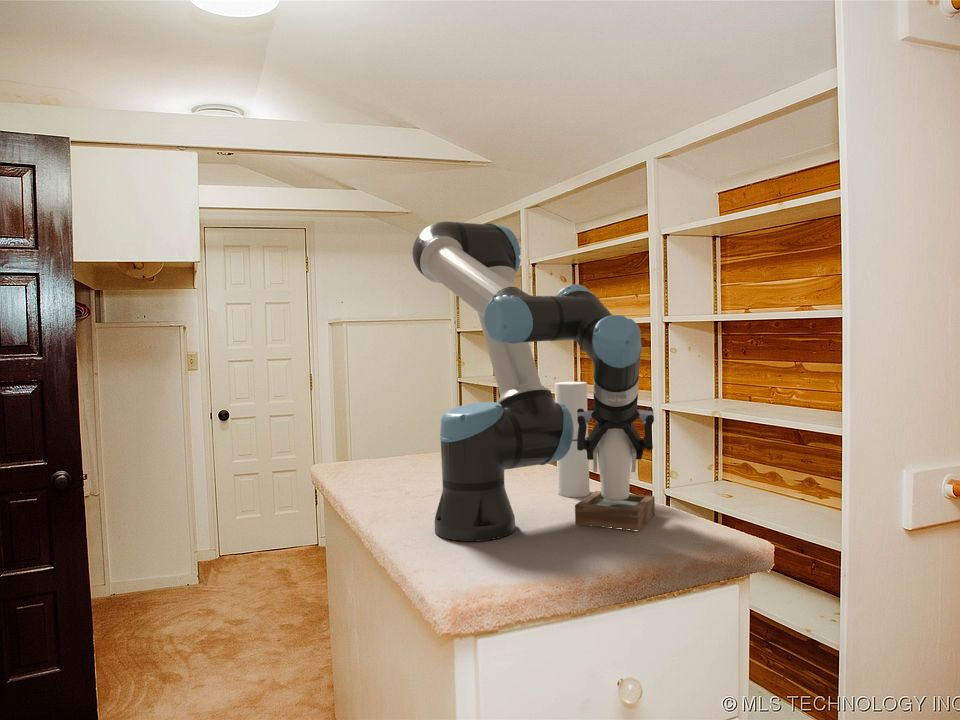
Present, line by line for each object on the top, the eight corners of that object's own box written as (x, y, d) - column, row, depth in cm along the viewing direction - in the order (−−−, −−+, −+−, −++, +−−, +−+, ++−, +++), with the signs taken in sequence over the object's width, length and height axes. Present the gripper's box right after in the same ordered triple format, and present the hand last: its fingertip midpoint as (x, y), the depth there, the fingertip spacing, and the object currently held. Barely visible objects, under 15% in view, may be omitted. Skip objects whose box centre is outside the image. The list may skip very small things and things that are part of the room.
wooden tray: (637, 531, 120) (637, 511, 120) (575, 524, 126) (574, 504, 125) (654, 514, 130) (654, 496, 130) (596, 508, 136) (595, 490, 136)
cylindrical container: (586, 497, 145) (583, 384, 144) (554, 496, 147) (551, 384, 146) (591, 490, 152) (589, 381, 151) (561, 488, 154) (558, 381, 153)
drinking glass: (607, 503, 124) (605, 424, 123) (591, 495, 130) (589, 419, 129) (639, 500, 125) (638, 421, 125) (622, 492, 132) (620, 417, 131)
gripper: (558, 409, 113) (564, 482, 130) (676, 408, 110) (666, 482, 127) (558, 376, 118) (564, 450, 135) (671, 374, 115) (662, 450, 132)
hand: (613, 466), depth 131 cm, fingers closed on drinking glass, 7 cm apart
